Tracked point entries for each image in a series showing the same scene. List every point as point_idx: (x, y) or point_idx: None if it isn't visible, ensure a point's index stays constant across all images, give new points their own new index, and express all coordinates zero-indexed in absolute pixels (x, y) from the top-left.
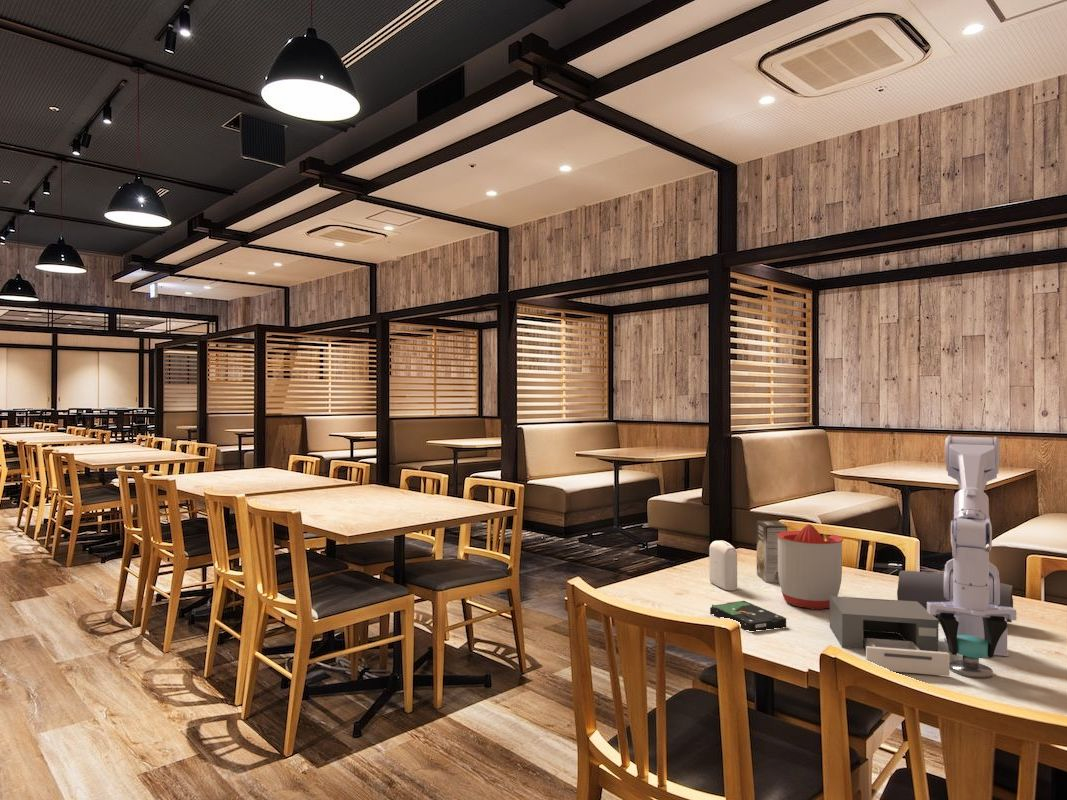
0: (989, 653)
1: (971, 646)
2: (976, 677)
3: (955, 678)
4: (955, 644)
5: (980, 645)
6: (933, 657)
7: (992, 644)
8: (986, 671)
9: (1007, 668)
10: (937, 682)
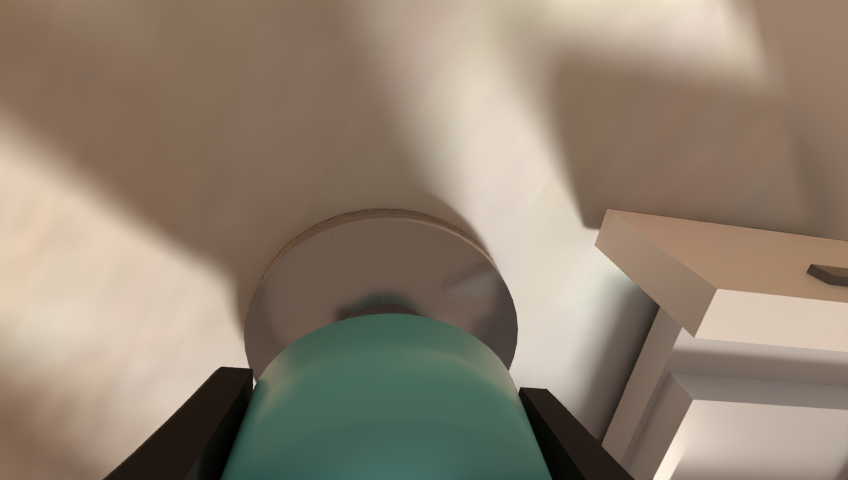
0: (241, 391)
1: (468, 402)
2: (412, 215)
3: (563, 198)
4: (584, 457)
5: (362, 414)
6: (813, 279)
7: (173, 466)
8: (308, 282)
9: (101, 408)
10: (747, 108)
